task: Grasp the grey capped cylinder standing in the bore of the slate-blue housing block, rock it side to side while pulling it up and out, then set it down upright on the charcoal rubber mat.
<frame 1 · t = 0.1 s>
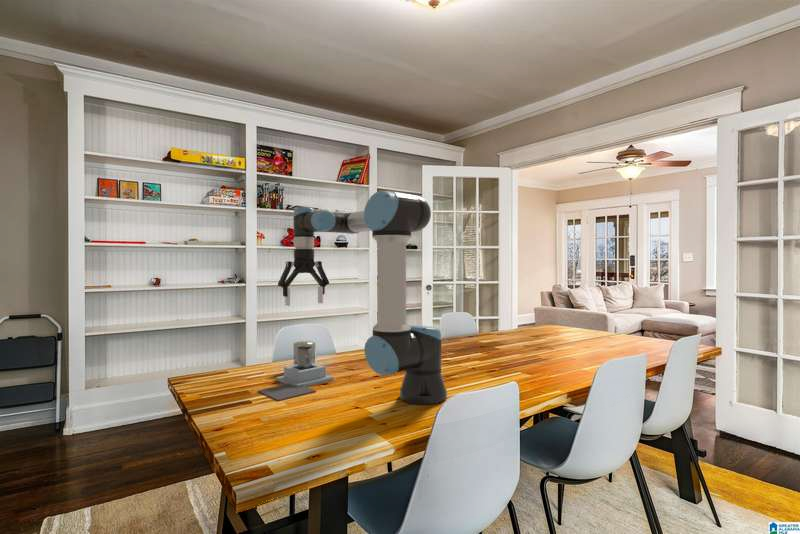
hand: (304, 304, 165), 28 cm above the table, fingers open, 13 cm apart
ink box: (305, 371, 175), on the table
housing: (304, 380, 161), on the table
grey capped cylinder: (304, 361, 161), in the housing
mat: (286, 391, 147), on the table
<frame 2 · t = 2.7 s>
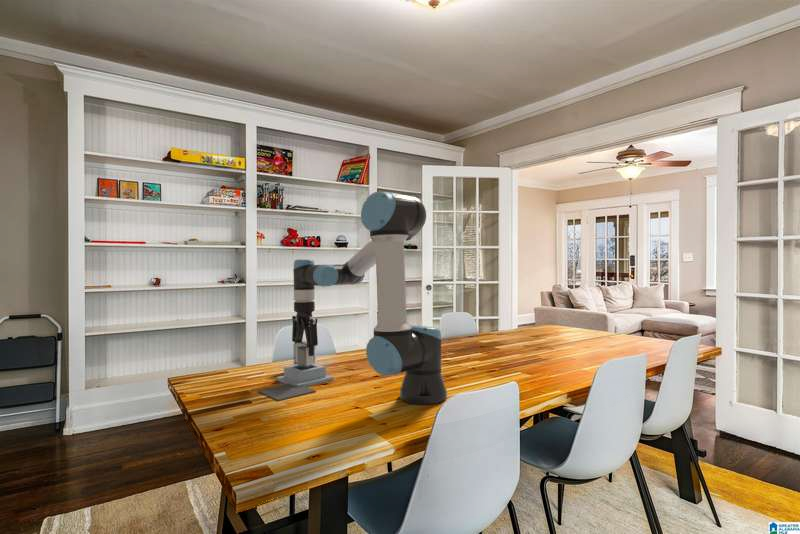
hand: (304, 362, 161), 6 cm above the table, fingers closed on grey capped cylinder, 6 cm apart
grey capped cylinder: (304, 361, 161), in the housing, touching gripper
everything else where it was.
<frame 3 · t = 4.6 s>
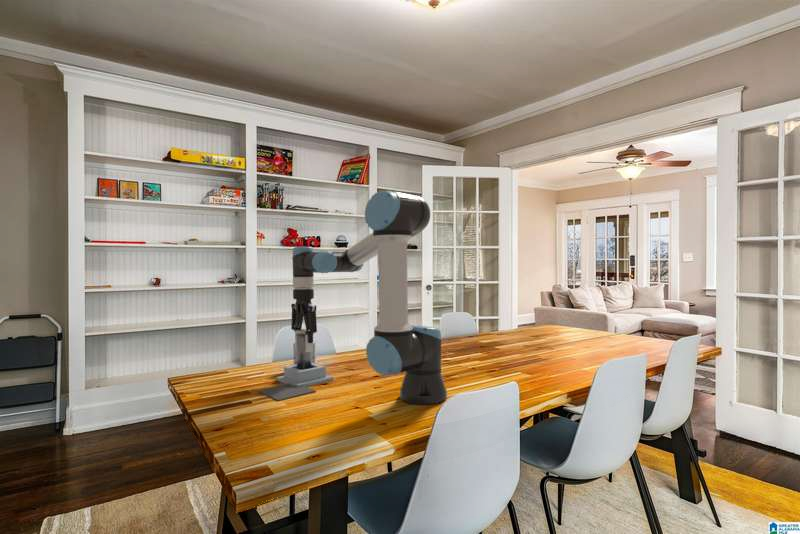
hand: (304, 350, 161), 11 cm above the table, fingers closed on grey capped cylinder, 6 cm apart
grey capped cylinder: (304, 348, 161), point 12 cm above the table, touching gripper
everything else where it was.
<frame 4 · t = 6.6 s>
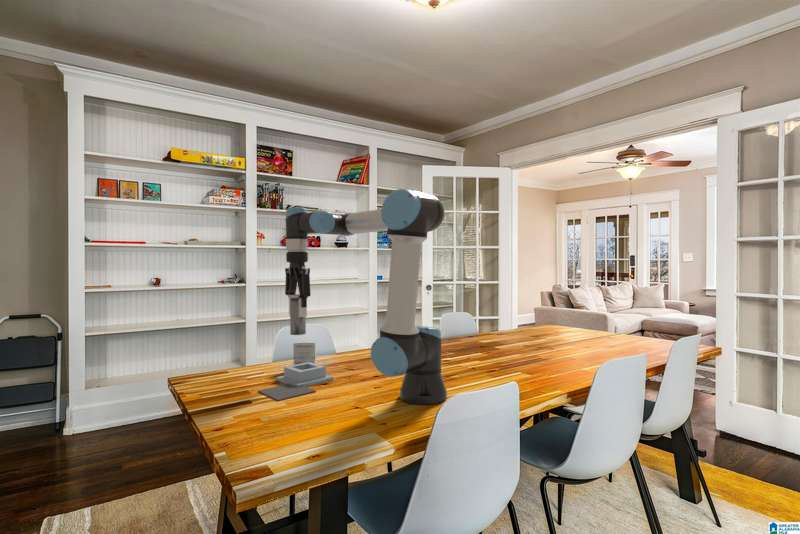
hand: (297, 315, 155), 25 cm above the table, fingers closed on grey capped cylinder, 6 cm apart
grey capped cylinder: (297, 314, 155), point 25 cm above the table, touching gripper
everything else where it was.
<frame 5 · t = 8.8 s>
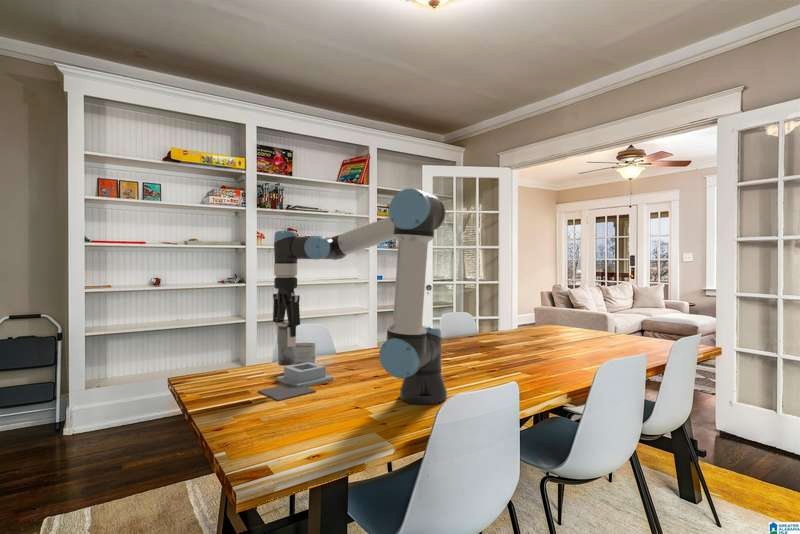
hand: (286, 344, 147), 16 cm above the table, fingers closed on grey capped cylinder, 6 cm apart
grey capped cylinder: (286, 343, 147), point 16 cm above the table, touching gripper
everything else where it was.
when the fingers open (8 cm above the table, at t = 10.6 s): grey capped cylinder stays where it is, resting on mat.
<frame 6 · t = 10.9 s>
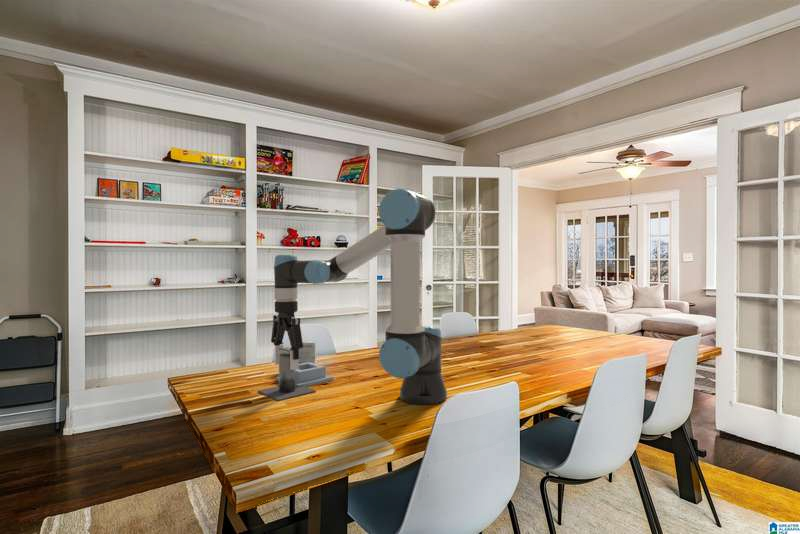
hand: (286, 366, 147), 9 cm above the table, fingers open, 9 cm apart
grey capped cylinder: (287, 369, 147), on the mat
everything else where it was.
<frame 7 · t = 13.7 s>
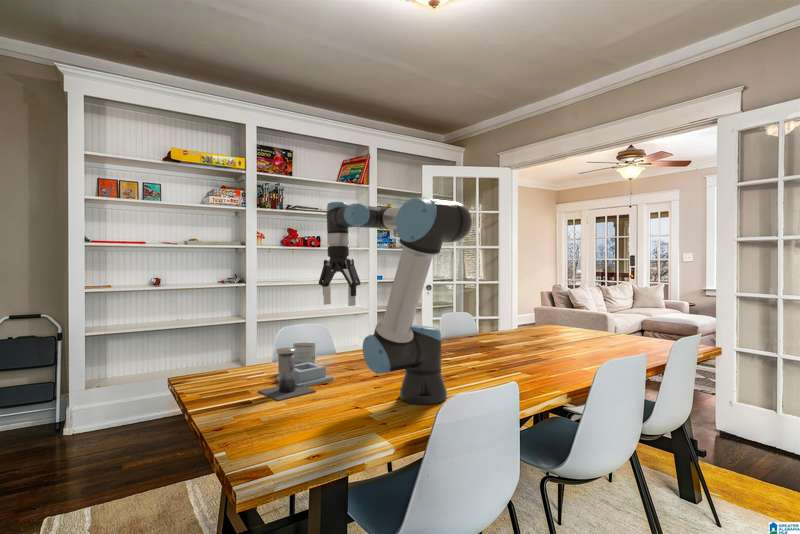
hand: (339, 305, 155), 28 cm above the table, fingers open, 13 cm apart
nothing on the table moved.
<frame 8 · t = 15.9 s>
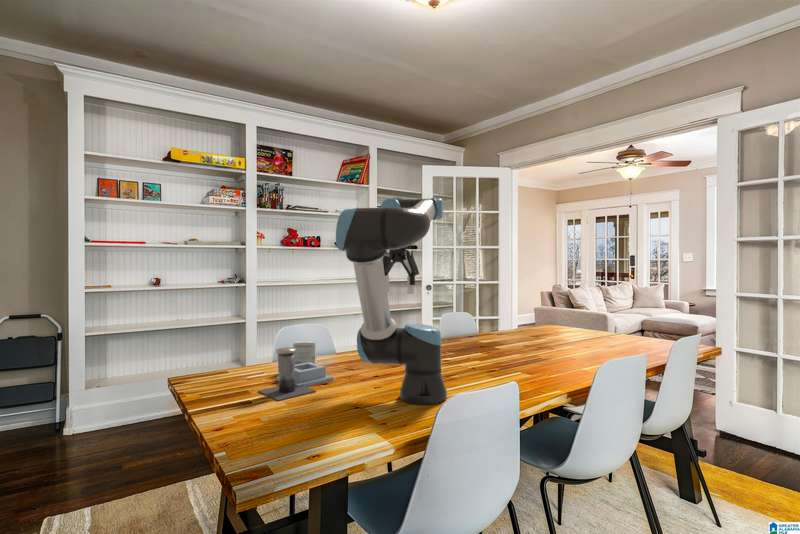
hand: (398, 293, 168), 32 cm above the table, fingers open, 13 cm apart
nothing on the table moved.
at the end: grey capped cylinder inside the target area on the mat (0.1 cm from its centre), point 7.4 cm above the mat's base; grey capped cylinder tilted 1°; the gripper is holding nothing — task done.
